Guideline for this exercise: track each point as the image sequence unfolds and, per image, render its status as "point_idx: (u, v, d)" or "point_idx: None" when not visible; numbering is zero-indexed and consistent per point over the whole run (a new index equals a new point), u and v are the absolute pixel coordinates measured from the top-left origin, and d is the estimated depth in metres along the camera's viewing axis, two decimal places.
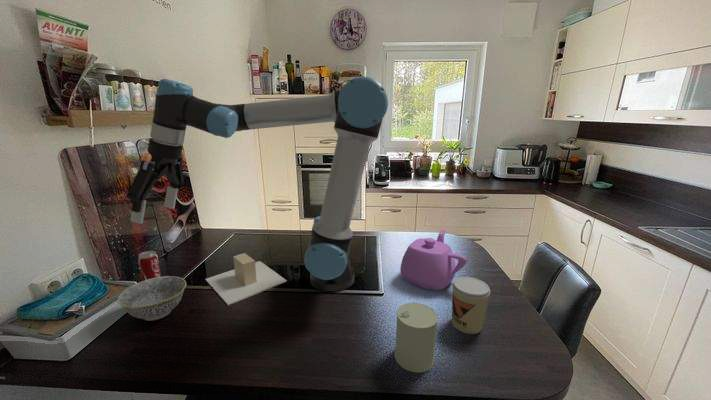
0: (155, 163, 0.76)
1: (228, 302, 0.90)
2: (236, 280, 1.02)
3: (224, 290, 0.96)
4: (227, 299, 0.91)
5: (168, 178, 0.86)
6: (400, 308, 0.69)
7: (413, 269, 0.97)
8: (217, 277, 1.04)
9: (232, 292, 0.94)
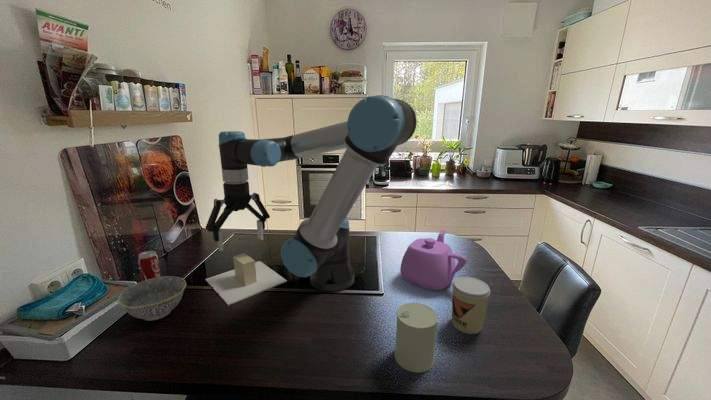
0: (225, 200, 0.92)
1: (228, 302, 0.90)
2: (236, 280, 1.02)
3: (224, 290, 0.96)
4: (227, 299, 0.91)
5: None
6: (400, 308, 0.69)
7: (413, 269, 0.97)
8: (217, 277, 1.04)
9: (232, 293, 0.94)
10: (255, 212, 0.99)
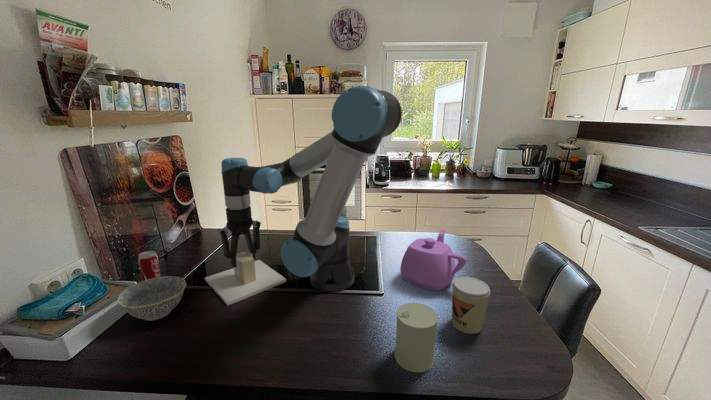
0: (227, 227, 0.94)
1: (227, 301, 0.89)
2: (235, 279, 1.02)
3: (223, 289, 0.96)
4: (226, 298, 0.91)
5: (246, 241, 1.01)
6: (400, 308, 0.69)
7: (413, 270, 0.97)
8: (216, 276, 1.03)
9: (231, 291, 0.94)
10: (250, 240, 1.00)
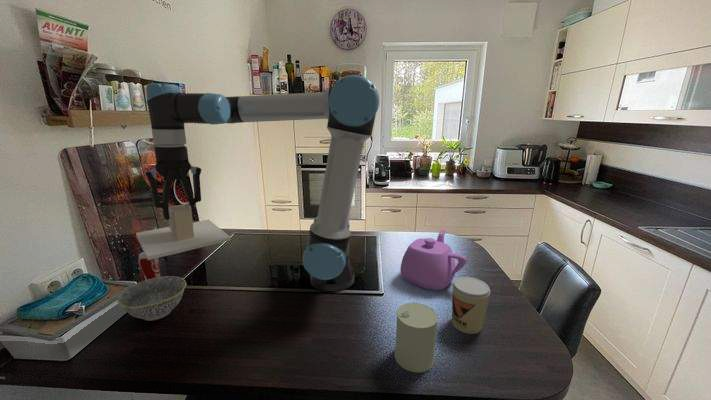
0: (156, 169, 0.78)
1: (149, 254, 0.74)
2: (171, 235, 0.86)
3: (151, 243, 0.80)
4: (149, 252, 0.75)
5: (184, 190, 0.85)
6: (400, 308, 0.69)
7: (413, 270, 0.97)
8: (150, 232, 0.88)
9: (159, 246, 0.78)
10: (187, 189, 0.84)
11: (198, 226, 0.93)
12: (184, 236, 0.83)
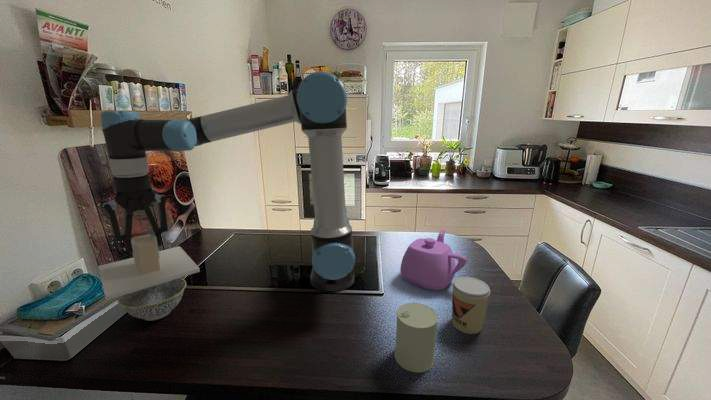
0: (115, 200, 0.73)
1: (107, 294, 0.69)
2: (136, 268, 0.81)
3: (112, 279, 0.75)
4: (108, 290, 0.70)
5: (148, 220, 0.80)
6: (400, 308, 0.69)
7: (413, 269, 0.97)
8: (114, 264, 0.83)
9: (120, 282, 0.73)
10: (151, 219, 0.79)
11: (167, 255, 0.88)
12: (149, 269, 0.78)
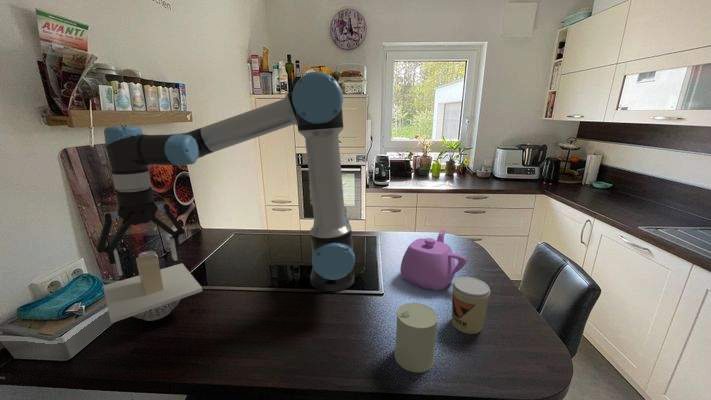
0: (118, 212, 0.74)
1: (112, 317, 0.70)
2: (139, 287, 0.82)
3: (116, 301, 0.76)
4: (113, 313, 0.72)
5: None
6: (400, 308, 0.69)
7: (413, 269, 0.97)
8: (119, 283, 0.84)
9: (125, 304, 0.75)
10: (163, 226, 0.81)
11: (170, 273, 0.90)
12: (152, 290, 0.80)
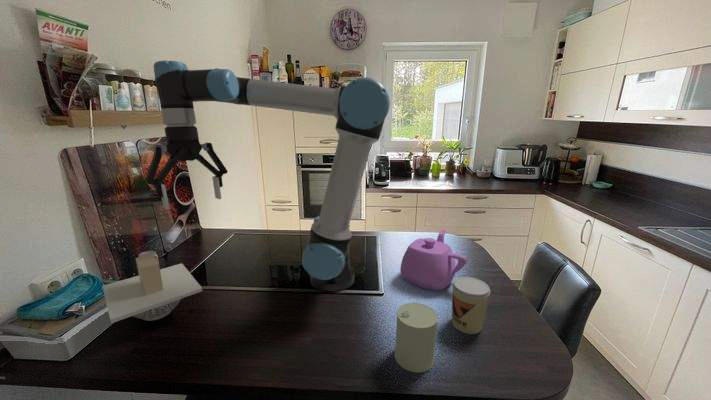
0: (167, 147, 0.77)
1: (112, 317, 0.70)
2: (139, 287, 0.82)
3: (116, 301, 0.76)
4: (113, 313, 0.72)
5: (206, 167, 0.85)
6: (400, 308, 0.69)
7: (413, 270, 0.97)
8: (118, 284, 0.84)
9: (124, 304, 0.75)
10: (208, 165, 0.84)
11: (170, 273, 0.90)
12: (152, 290, 0.80)
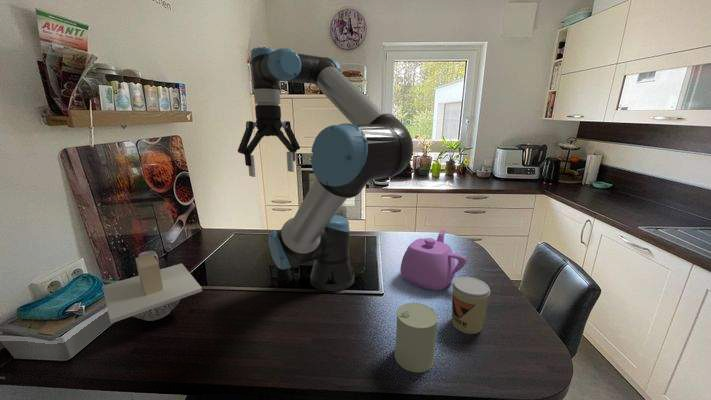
0: (257, 122, 0.89)
1: (112, 317, 0.70)
2: (139, 287, 0.82)
3: (116, 301, 0.76)
4: (113, 313, 0.72)
5: (283, 142, 0.97)
6: (400, 308, 0.69)
7: (413, 270, 0.97)
8: (118, 284, 0.84)
9: (124, 304, 0.75)
10: (286, 140, 0.96)
11: (169, 273, 0.90)
12: (152, 290, 0.80)
